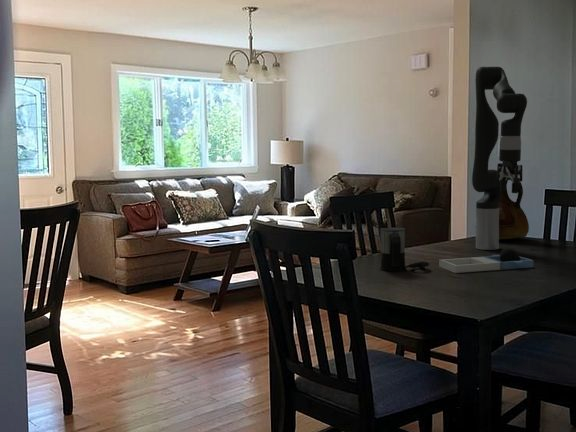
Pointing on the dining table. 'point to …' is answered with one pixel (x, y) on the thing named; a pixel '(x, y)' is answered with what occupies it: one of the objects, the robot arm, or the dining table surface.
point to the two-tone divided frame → (482, 264)
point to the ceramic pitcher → (512, 216)
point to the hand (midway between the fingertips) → (508, 192)
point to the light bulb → (509, 255)
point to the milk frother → (395, 250)
